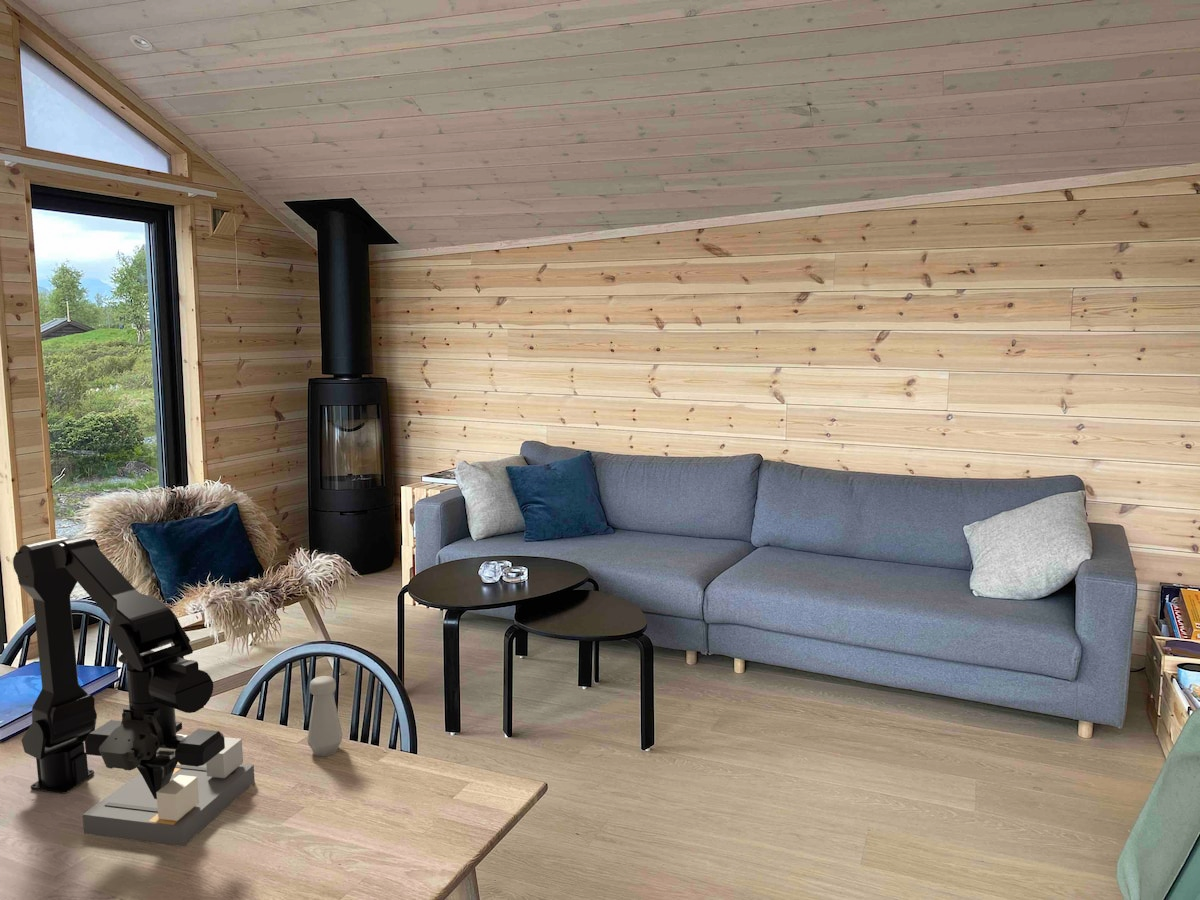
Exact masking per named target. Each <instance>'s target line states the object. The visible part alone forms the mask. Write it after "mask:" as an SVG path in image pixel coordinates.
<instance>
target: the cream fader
mask: <svg viewBox="0 0 1200 900" xmlns="http://www.w3.org/2000/svg"><path fill="white" fill-rule="evenodd" d="M156 794H157V807H158V819H166V820H174V821H178V820H179V819H180V818H181V817H182V816H184V815H185V814H186V813H187V812H188V811H190V810H191V809H192V808H193V807H194V806H195V805H197V804H198V803H199V792H198V778H197V777H195V776H186V775H178V776H177V777H175V778H174V779H173V780H172V781H170V782H169V783H168V784H166V785H165V786H164V787H163V788H161V789H160V790H159V791H157V792H156Z"/></svg>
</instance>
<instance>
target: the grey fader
mask: <svg viewBox="0 0 1200 900" xmlns="http://www.w3.org/2000/svg"><path fill="white" fill-rule="evenodd" d="M242 739H243V738H237V737H236V738H234V737H226V736H224V742H225V748H224V749H223V750H222V751H221V752H219V753H218V754H217V755H215V756H214V757H213V758H212V759H210V760H209V761H208V762H207V763H206V767H207V776H210V777H219V778H225V777H227V776H228V775H229V774H230V773H231V772H233V771H234V770H235V769H236V768H237V767H238V766H240V765H241V764H244V752H243V740H242Z"/></svg>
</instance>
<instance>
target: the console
mask: <svg viewBox="0 0 1200 900" xmlns="http://www.w3.org/2000/svg"><path fill="white" fill-rule="evenodd" d="M178 775H186V776H195V777H197V778H198V792H199V803H198V804H197V805H195V806H194V807H193V808H192V809H191V810H190V811H188V812H187V813H186V814H185V815H184V816H182V817H181V818H180V819H179V820H178V821H174V820H166V819H158V807H157V799H154V797H153V795H152V793H151V791H150V789H149V787H148V786H147V784H146V782H145V780H144V778H143V776H142V775H141V773H140V772H139V773H138V774H137V775H135V776H133V777H132V778H131V779H130V780H128V781H126V782H125V783H124V784H122V785H121V786H120V787H118V788H116V789H115V790H114V791H113V792H110V794H109V795H107V796H106V797H104V798H103V799H102V800H100V801H99V802H97V803H96V804H95V805H93V806H92V807H91V808H89V809H88V810H87V811H85V812H84V813H82V822H83V823H82V824H83V834H84V835H90V834H91V835H90V836H98V837H99V836H100V837H106V838H114V839H124V840H128V841H129V840H131V841H139V842H144V843H145V842H147V843H153V844H159V845H160V844H162V845H169V846H176V847H184V846H186V845H187V844H188V843H190V841H191V840H193V838H195V837H196V836H197V835H198V834H199V833H201V831H203V830H204V829H205V828H206V827H207V826H208V825H209V824H210V823H211V822H213V821H214V820H215V819H216V818H217V817H219V815H220V814H222V812H224V811H225V810H226V809H227V808H228V807H229V806H231V804H233V802H235V801H236V800H237V799H238V798H240V796H241V795H242V794H244V793H245V791H247V790H248V789H249V788H251V786H253V785H254V784H255V782H256V781H255V765H254V764H248V763H242V764H241V765H240V766H238V767H237V768H236V769H235V770H234V771H233V772H231V773H230V774H229V775H228V776H227V777H225V778H219V777H210V776H207V767H206V763H205V764H204V765H201V766H198V767H197V766H188V765H181V764H180V763H179V762H178V763H177V765H176V767H175V769H174V772H173V774H172V777H171V779H170V781H172V780H173V779H174V778H175V777H177V776H178Z"/></svg>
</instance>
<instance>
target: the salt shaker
mask: <svg viewBox="0 0 1200 900" xmlns="http://www.w3.org/2000/svg"><path fill="white" fill-rule="evenodd" d="M336 689H337V682H336V679H335V678H333V677H332V676H330V675H321V676H317V677H314V678H313V679H312V680H310V682H309V692H310V694H311V695H313V696H312V703H311V712H310V717H309V726H308V732H307V745H308V746H309V748H310V749H311V750H312V751H313V754H314V755H315V756H316V757H317V756H318V757H328V756H331V755H334V754H335V755H336V753H337V751H338V749H339V747H340V745H341V743H342V740H343V730H342V726H341V721H340V716H339V714H338V712H339V711H338V708H337V704H336V699H335V696H334V692H336Z"/></svg>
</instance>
